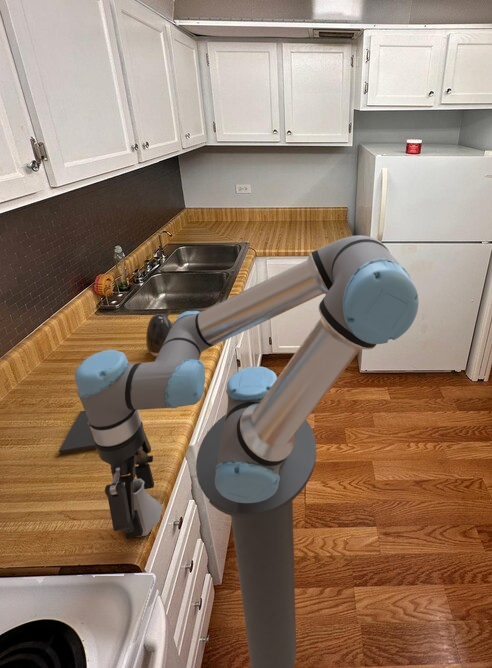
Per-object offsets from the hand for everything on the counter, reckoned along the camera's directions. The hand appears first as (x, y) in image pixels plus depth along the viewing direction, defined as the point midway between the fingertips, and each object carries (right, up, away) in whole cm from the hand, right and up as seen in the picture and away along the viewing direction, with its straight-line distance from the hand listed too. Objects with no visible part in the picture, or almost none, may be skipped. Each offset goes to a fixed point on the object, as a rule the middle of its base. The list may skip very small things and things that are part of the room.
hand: (141, 509), depth 68 cm
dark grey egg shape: (-18, +17, +50) cm, 56 cm away
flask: (0, -3, +1) cm, 3 cm away
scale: (-22, +5, +20) cm, 30 cm away
